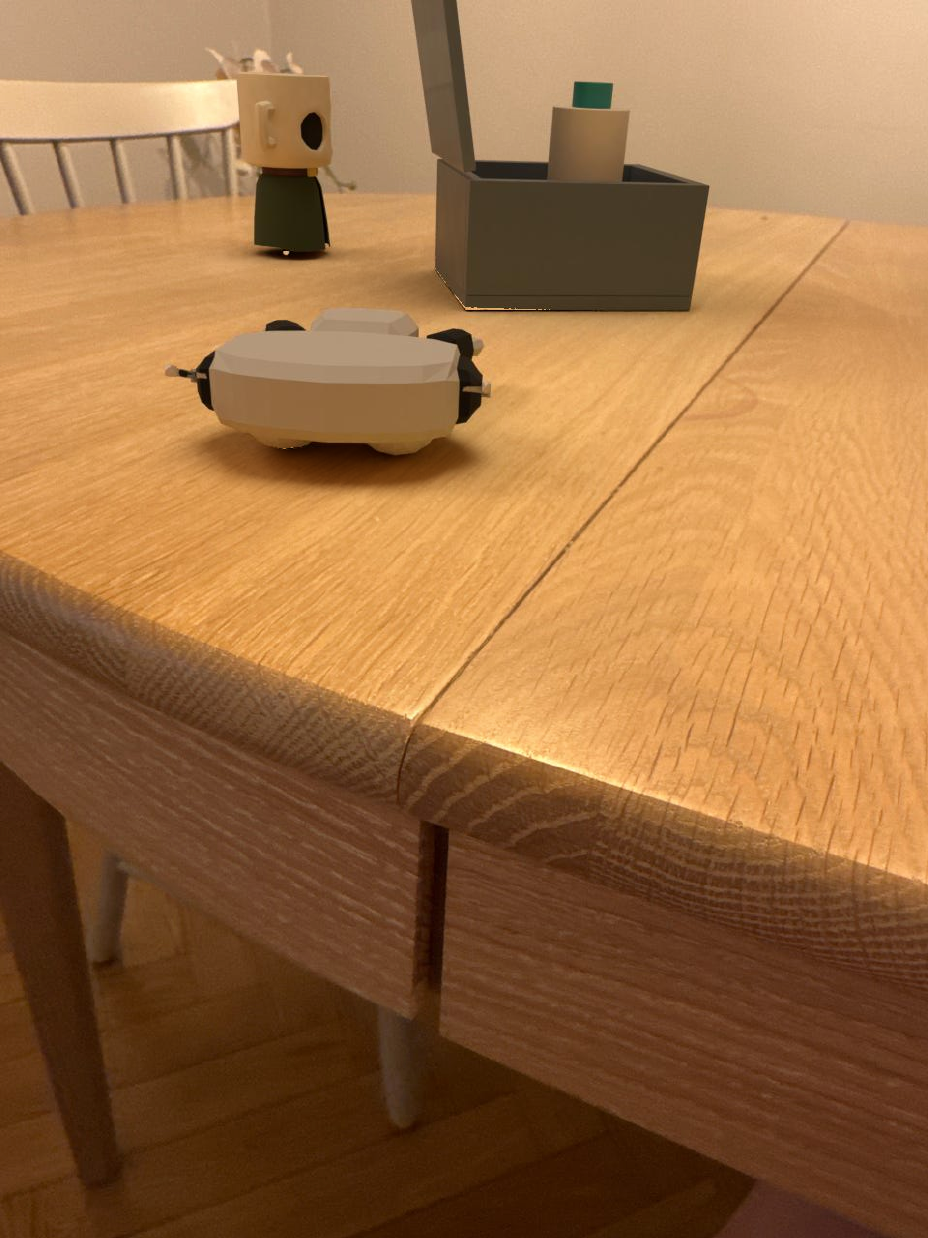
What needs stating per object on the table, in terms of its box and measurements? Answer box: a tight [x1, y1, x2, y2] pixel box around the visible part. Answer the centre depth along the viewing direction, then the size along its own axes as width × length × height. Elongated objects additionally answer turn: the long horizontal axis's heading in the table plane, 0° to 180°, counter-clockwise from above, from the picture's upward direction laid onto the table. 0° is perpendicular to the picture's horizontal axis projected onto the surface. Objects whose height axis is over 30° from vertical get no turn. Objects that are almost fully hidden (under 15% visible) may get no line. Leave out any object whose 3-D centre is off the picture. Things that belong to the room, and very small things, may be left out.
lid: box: [410, 0, 476, 172], centre depth 60 cm, size 17×14×1 cm
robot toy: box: [164, 307, 492, 456], centre depth 42 cm, size 12×4×15 cm
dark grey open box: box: [434, 158, 710, 312], centre depth 68 cm, size 16×14×8 cm
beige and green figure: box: [235, 71, 334, 253], centre depth 75 cm, size 11×7×13 cm, turn 168°
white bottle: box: [547, 80, 631, 182], centre depth 66 cm, size 5×5×12 cm
